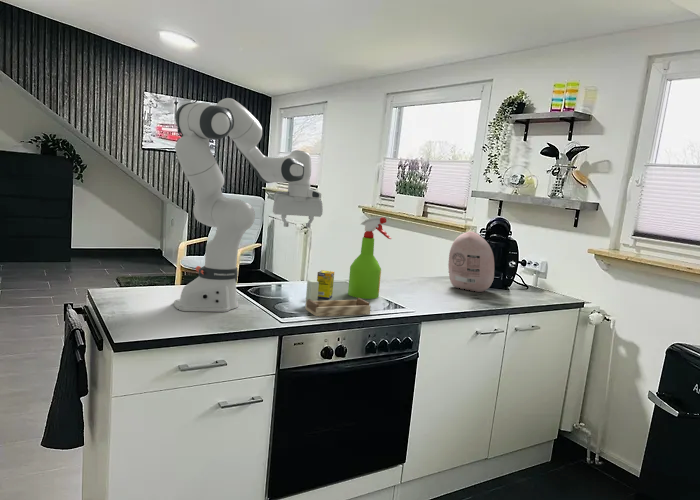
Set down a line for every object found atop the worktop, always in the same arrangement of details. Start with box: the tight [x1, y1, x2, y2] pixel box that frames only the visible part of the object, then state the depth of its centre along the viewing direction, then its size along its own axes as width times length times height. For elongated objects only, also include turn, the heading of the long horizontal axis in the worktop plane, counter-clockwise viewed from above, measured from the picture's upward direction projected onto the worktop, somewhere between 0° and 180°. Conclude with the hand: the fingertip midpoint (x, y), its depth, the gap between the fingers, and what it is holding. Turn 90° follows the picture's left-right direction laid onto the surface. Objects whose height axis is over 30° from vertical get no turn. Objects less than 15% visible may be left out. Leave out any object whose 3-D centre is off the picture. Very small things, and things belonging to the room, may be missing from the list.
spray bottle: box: [347, 216, 393, 300], centre depth 225 cm, size 14×18×35 cm
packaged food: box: [447, 231, 496, 293], centre depth 261 cm, size 22×20×30 cm
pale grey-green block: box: [305, 279, 319, 307], centre depth 199 cm, size 3×4×10 cm
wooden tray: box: [305, 298, 371, 317], centre depth 194 cm, size 22×10×4 cm, turn 118°
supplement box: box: [316, 269, 335, 300], centre depth 216 cm, size 6×6×11 cm
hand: (297, 227), depth 208 cm, fingers open, 8 cm apart
